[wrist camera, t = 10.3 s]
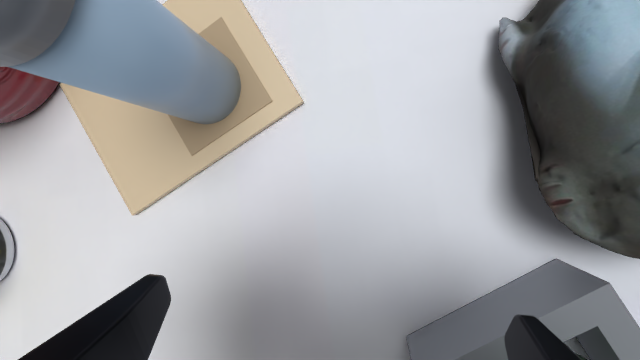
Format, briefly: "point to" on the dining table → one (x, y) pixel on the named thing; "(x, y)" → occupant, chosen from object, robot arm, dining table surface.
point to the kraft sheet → (179, 134)
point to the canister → (22, 93)
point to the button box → (546, 305)
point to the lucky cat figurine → (582, 112)
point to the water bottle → (121, 54)
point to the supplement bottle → (5, 250)
